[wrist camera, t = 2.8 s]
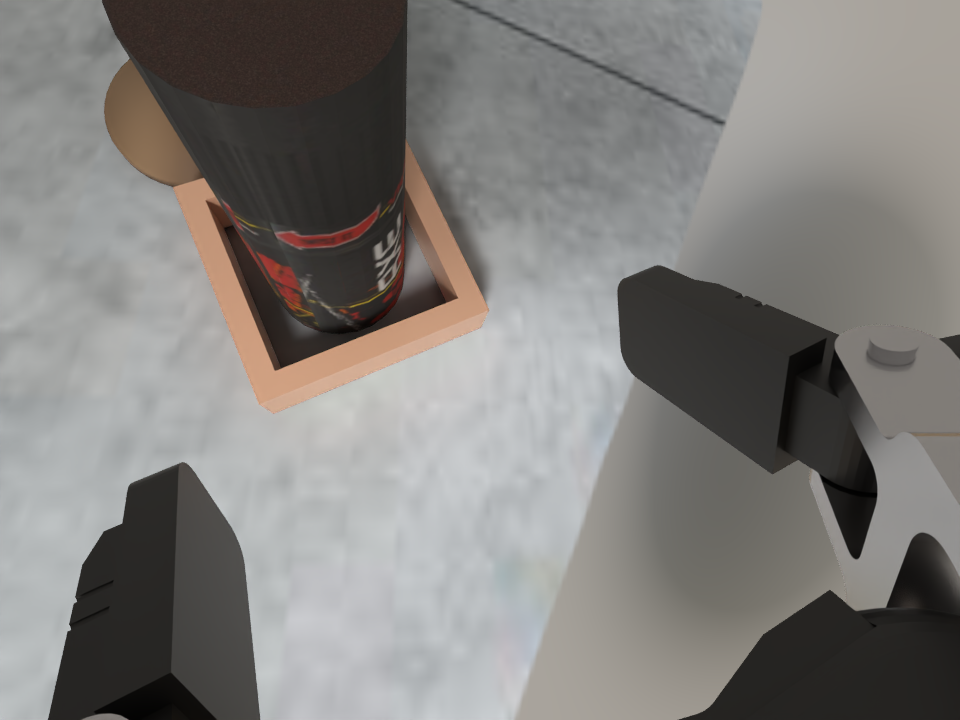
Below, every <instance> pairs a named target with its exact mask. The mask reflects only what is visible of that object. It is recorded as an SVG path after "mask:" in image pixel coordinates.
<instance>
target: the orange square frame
mask: <svg viewBox="0 0 960 720" xmlns="http://www.w3.org/2000/svg"><path fill="white" fill-rule="evenodd" d="M173 189H174V191H175V194H176V196H177V199H178V201H179V204H180V206H181V209H182V212H183V214H184V217H185V219H186V222H187V224H188V227H189V229H190V232H191V234H192V237H193V239H194V242H195V244H196V247H197V249H198V252H199V254H200V257H201V259H202V262H203V264H204V267H205V269H206V272H207V274H208V277H209V280H210V282H211V285H212V287H213V290H214V292H215V295H216V297H217V300H218V302H219V305H220V307H221V310H222V312H223V315H224V317H225V320H226V322H227V325H228V327H229V330H230V332H231V335H232V337H233V340H234V342H235V345H236V348H237V350H238V353H239V355H240V358H241V360H242V363H243V365H244V368H245V370H246V373H247V375H248V378H249V380H250V383H251V385H252V388H253V390H254V393H255V395H256V398H257V400H258V403H259V405H261V406H262V407H264V408H265V409H267V410H269V411H270V412H272V413H273V414H274V413H276V412H279V411H281V410H284V409H286V408H288V407H291V406H293V405H296V404H298V403H301V402H303V401H305V400H308V399H310V398H313V397H315V396H317V395H320V394H322V393H325V392H327V391H329V390H332V389H334V388H337V387H339V386H341V385H344V384H346V383H349V382H351V381H353V380H356V379H358V378H361V377H363V376H365V375H368V374H370V373H373V372H375V371H377V370H380V369H382V368H385V367H387V366H390V365H392V364H394V363H397V362H399V361H402V360H404V359H406V358H409V357H411V356H414V355H416V354H418V353H421V352H423V351H426V350H428V349H430V348H433V347H435V346H438V345H440V344H442V343H445V342H447V341H450V340H452V339H454V338H457V337H459V336H462V335H464V334H467V333H469V332H471V331H474V330H476V329H479V328H481V327H482V324H483V322H484V320H485V318H486V316H487V314H488V312H489V309H488V306H487V304H486V302H485V300H484V298H483V296H482V294H481V292H480V290H479V288H478V286H477V284H476V282H475V280H474V278H473V276H472V274H471V272H470V270H469V267H468V265H467V263H466V261H465V259H464V257H463V255H462V253H461V251H460V249H459V247H458V245H457V243H456V241H455V239H454V237H453V235H452V233H451V231H450V229H449V226H448V224H447V222H446V220H445V218H444V216H443V214H442V212H441V210H440V208H439V206H438V204H437V202H436V200H435V198H434V196H433V194H432V192H431V190H430V187H429V185H428V183H427V181H426V179H425V177H424V175H423V173H422V171H421V169H420V167H419V165H418V163H417V161H416V159H415V157H414V155H413V153H412V151H411V148H410V146H409V144H408V142H407V140H406V149H405V216H406V218H407V221H408V223H409V225H410V227H411V229H412V231H413V233H414V235H415V237H416V240H417V242H418V244H419V246H420V248H421V250H422V252H423V254H424V256H425V259H426V261H427V263H428V265H429V267H430V269H431V271H432V273H433V275H434V278H435V280H436V282H437V284H438V286H439V288H440V290H441V292H442V294H443V296H444V299H445V301H446V303H445V304H442V305H440V306H437V307H435V308H432V309H430V310H427V311H425V312H422V313H420V314H417V315H415V316H412V317H410V318H407V319H405V320H402V321H400V322H397V323H395V324H392V325H390V326H387V327H384V328H382V329H379V330H377V331H374V332H372V333H369V334H367V335H364V336H362V337H359V338H357V339H354V340H352V341H349V342H347V343H344V344H342V345H339V346H337V347H334V348H332V349H329V350H327V351H324V352H322V353H319V354H317V355H314V356H312V357H309V358H307V359H304V360H302V361H299V362H297V363H294V364H292V365H289V366H286V367H284V368H281V366H280V364H279V362H278V359H277V357H276V354H275V352H274V349H273V347H272V344H271V342H270V340H269V337H268V335H267V332H266V330H265V327H264V325H263V322H262V320H261V318H260V315H259V313H258V310H257V308H256V305H255V303H254V300H253V298H252V296H251V293H250V291H249V288H248V286H247V283H246V281H245V278H244V276H243V274H242V271H241V269H240V266H239V264H238V261H237V259H236V256H235V254H234V252H233V249H232V247H231V244H230V242H229V239H228V237H227V234H226V232H225V230H224V228H226V227H229V226H232V225H233V224H232V223H231V221H230V219H229V218H228V216H227V214H226V213H225V211H224V210H223V208H222V206H221V205H220V203H219V201H218V200H217V198H216V197H215V195H214V193H213V192H212V190H211V189H210V187H209V185H208V184H207V182H206V180H205V179H204V178H201V179H198V180H195V181H192V182H188V183H185V184H182V185H179V186H175V187H173Z"/></svg>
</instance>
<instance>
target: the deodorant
mask: <svg viewBox="0 0 960 720" xmlns="http://www.w3.org/2000/svg"><path fill="white" fill-rule="evenodd" d="M102 3H103V5H104V8H105V11H106V13H107V15H108V18H109V20H110V23H111V25H112V28H113V30H114V32H115V35H116V36H117V38H118V40H119V41H120V43H121V44H122V46H123V48H124V49H125V51H126V52H127V54H128V56H129V57H130V59H131V61H132V62H133V64H134V65H135V67H136V69H137V70H138V72H139V74H140V75H141V77H142V78H143V80H144V82H145V83H146V85H147V86H148V88H149V90H150V91H151V93H152V95H153V96H154V98H155V99H156V101H157V103H158V104H159V106H160V108H161V109H162V111H163V112H164V114H165V116H166V117H167V119H168V120H169V122H170V124H171V125H172V127H173V129H174V130H175V132H176V133H177V135H178V137H179V138H180V140H181V142H182V143H183V145H184V146H185V148H186V150H187V151H188V153H189V154H190V156H191V158H192V159H193V161H194V163H195V164H196V166H197V167H198V169H199V171H200V172H201V174H202V176H203V177H204V179H205V180H206V182H207V184H208V185H209V187H210V189H211V190H212V192H213V193H214V195H215V197H216V198H217V200H218V201H219V203H220V205H221V206H222V208H223V210H224V211H225V213H226V214H227V216H228V218H229V219H230V221H231V223H232V224H233V226H234V227H235V229H236V231H237V232H238V234H239V235H240V237H241V239H242V240H243V242H244V244H245V245H246V247H247V248H248V250H249V252H250V253H251V255H252V257H253V258H254V260H255V261H256V263H257V265H258V266H259V268H260V269H261V271H262V273H263V274H264V276H265V278H266V279H267V281H268V282H269V284H270V286H271V287H272V289H273V291H274V292H275V294H276V295H277V297H278V299H279V300H280V302H281V303H282V305H283V306H284V307H285V308H286V310H287V311H288V312H289V313H290V315H291V316H292V317H294V318H295V319H297V320H298V321H299V322H301V323H302V324H304V325H305V326H307V327H310V328H313V329H315V330H318V331H321V332H327V333H336V334H342V333H349V332H357V331H359V330H362V329H364V328H367V327H369V326H372V325H373V324H375V323H376V322H377V321H379V320H380V319H382V318H383V317H384V316H386V315H387V313H388V312H389V311H390V310H391V308H392V307H393V306H394V305H395V303H396V302H397V299H398V297H399V295H400V292H401V290H402V285H403V277H404V230H405V149H406V68H407V0H102Z"/></svg>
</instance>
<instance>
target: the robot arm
mask: <svg viewBox="0 0 960 720" xmlns="http://www.w3.org/2000/svg"><path fill="white" fill-rule="evenodd" d="M618 311H619V328H620V345H621V353H622V356H623V359H624V361H625V363H626V365H627V367H628V369H629V370H630V371H631V373H632V374H633V375H634V376H635V377H637V378H638V379H640V380H641V381H642V382H643V383H645V384H646V385H648V386H649V387H650V388H652V389H653V390H655V391H656V392H657V393H659V394H660V395H662V396H663V397H665V398H666V399H667V400H669V401H670V402H672V403H673V404H674V405H676V406H677V407H679V408H680V409H681V410H683V411H684V412H686V413H687V414H688V415H690V416H691V417H693V418H694V419H695V420H697V421H698V422H700V423H701V424H702V425H704V426H705V427H707V428H708V429H709V430H711V431H712V432H714V433H715V434H716V435H718V436H719V437H721V438H722V439H723V440H725V441H726V442H728V443H729V444H731V445H732V446H733V447H735V448H736V449H738V450H739V451H740V452H742V453H743V454H744V455H746V456H747V457H749V458H750V459H752V460H753V461H754V462H756V463H757V464H759V465H760V466H761V467H763V468H764V469H766V470H767V471H768V472H770V473H771V474H774V473H776V472H777V471H779V470H781V469H783V468H784V467H786V466H788V465H790V464H791V463H793V462H795V461H797V460H800V461H801V462H802V463H804V464H806V465H807V466H809V467H810V473H809V481H810V485H811V488H812V491H813V493H814V496H815V499H816V501H817V504H818V507H819V510H820V513H821V515H822V518H823V521H824V524H825V527H826V529H827V532H828V535H829V538H830V540H831V543H832V546H833V548H834V551H835V554H836V557H837V560H838V562H839V565H840V568H841V571H842V574H843V578H844V583H845V588H846V603H845V602H844V601H843V600H842V599H840V598H839V597H838V596H837V595H836V594H834V593H833V592H832V591H831V590H829V591H828V592H826V593H825V594H823V595H822V596H820V597H819V598H817V599H816V600H814V601H813V602H811V603H810V604H808V605H807V606H805V607H804V608H802V609H801V610H799V611H798V612H796V613H795V614H793V615H792V616H790V617H789V618H787V619H786V620H785V621H783V622H781V623H780V624H779V625H777V626H775V627H774V628H772V629H771V630H769V631H768V632H767V633H765V634H763V636H762V637H761V638H760V640H759V641H758V642H757V644H756V645H755V647H754V648H753V649H752V651H751V652H750V653H749V655H748V656H747V658H746V659H745V660H744V662H743V663H742V664H741V666H740V667H739V669H738V670H737V671H736V673H735V674H734V675H733V677H732V678H731V680H730V681H729V682H728V684H727V685H726V686H725V688H724V689H723V690H722V692H721V693H720V695H719V696H718V697H717V699H716V700H715V702H714V703H713V704H712V705H711V706H710V707H709V708H708V709H706V710H705V711H703V712H701V713H699V714H696V715H692V716H689V717H686V718H682V719H679V720H960V335H955V336H950V337H946V338H940V339H938V338H936V337H933V336H932V335H930V334H927V333H924V332H922V331H918V330H915V329H911V328H907V327H901V326H894V325H867V326H860V327H856V328H853V329H849V330H847V331H845V332H843V333H842V334H841V335H838V334H836V333H833V332H831V331H828V330H826V329H824V328H821V327H819V326H816V325H814V324H812V323H810V322H807V321H805V320H802V319H800V318H798V317H795V316H793V315H791V314H788V313H786V312H783V311H781V310H779V309H776V308H774V307H772V306H769V305H767V304H766V305H764V306H763V305H762V304H761V302H760V301H757V300H755V299H753V298H750V297H748V296H745V297H743V296H742V294H741V293H738V292H736V291H734V290H732V289H729V288H727V287H724V286H722V285H720V284H716V283H710V282H704V281H699V280H694V279H691V278H689V277H687V276H684V275H682V274H680V273H677V272H675V271H673V270H671V269H668V268H666V267H664V266H659V265H657V266H653V267H651V268H649V269H646V270H644V271H641V272H639V273H636V274H634V275H632V276H629V277H627V278H624V279H623V280H622V281H621V282H620V283H619V286H618ZM75 597H76V599H77V602H76V603H74V605H73V610H72V614H71V619H70V623H69V625H70V627H71V630H70V631H68V632H67V637H66V641H65V646H64V650H63V655H62V659H61V664H60V668H59V673H58V677H57V682H56V686H55V691H54V695H53V700H52V704H51V709H50V713H49V718H48V720H260V713H259V703H258V693H257V683H256V673H255V663H254V653H253V643H252V633H251V623H250V613H249V603H248V593H247V584H246V574H245V564H244V559H243V555H242V551H241V548H240V545H239V542H238V540H237V538H236V535H235V533H234V531H233V530H232V528H231V526H230V525H229V523H228V522H227V520H226V519H225V517H224V516H223V514H222V513H221V511H220V510H219V508H218V507H217V505H216V504H215V502H214V501H213V499H212V498H211V496H210V495H209V493H208V492H207V490H206V489H205V487H204V486H203V484H202V483H201V481H200V480H199V478H198V477H197V475H196V474H195V472H194V471H193V470H192V468H191V467H190V466H189V465H188V464H186V463H184V462H182V463H179V464H177V465H174V466H172V467H170V468H167V469H165V470H162V471H160V472H157V473H155V474H153V475H150V476H148V477H145V478H143V479H140V480H138V481H136V482H133V483H131V484H130V485H129V487H128V491H127V497H126V504H125V510H124V517H123V523H122V524H120V525H118V526H116V527H113V528H111V529H109V530H106V531H104V532H103V534H102V535H101V537H100V538H99V540H98V542H97V543H96V545H95V546H94V548H93V549H92V551H91V552H90V554H89V556H88V557H87V559H86V560H85V562H84V563H83V565H82V569H81V574H80V578H79V583H78V587H77V592H76V596H75Z"/></svg>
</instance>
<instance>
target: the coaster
mask: <svg viewBox="0 0 960 720" xmlns="http://www.w3.org/2000/svg"><path fill="white" fill-rule="evenodd" d="M104 114H105V122H106V126H107V129H108V132H109V134H110V136H111V138H112V141H113V142H114V144H115V145H116V147H117V148H118V149H119V151H120V152H121V153H122V154H123V156H124V157H125V158H126V159H127V160H128V161H129V162H130V163H131V165H132V166H134V167H135V168H136V169H137V170H139V171H140V172H141V173H143V174H144V175H146V176H148V177H149V178H151V179H153V180H155V181H158V182H160V183H163V184H166V185H169V186H172V187H175V186H179V185H182V184H185V183H188V182H192V181H195V180H198V179H201V178H204V177H203V176H202V174H201V172H200V171H199V169H198V167H197V166H196V164H195V163H194V161H193V159H192V158H191V156H190V154H189V153H188V151H187V150H186V148H185V146H184V145H183V143H182V142H181V140H180V138H179V137H178V135H177V133H176V132H175V130H174V129H173V127H172V125H171V124H170V122H169V120H168V119H167V117H166V116H165V114H164V112H163V111H162V109H161V108H160V106H159V104H158V103H157V101H156V99H155V98H154V96H153V95H152V93H151V91H150V90H149V88H148V86H147V85H146V83H145V82H144V80H143V78H142V77H141V75H140V74H139V72H138V70H137V69H136V67H135V65H134V64H133V62H132V61H131V59H129V60H128V61H127V62H126V63H125V64H124V65H123V66H122V67H121V68H120V70H119V71H118V72H117V74H116V75H115V77H114V78H113V80H112V82H111V83H110V86H109V89H108V91H107V94H106V99H105V108H104Z"/></svg>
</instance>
